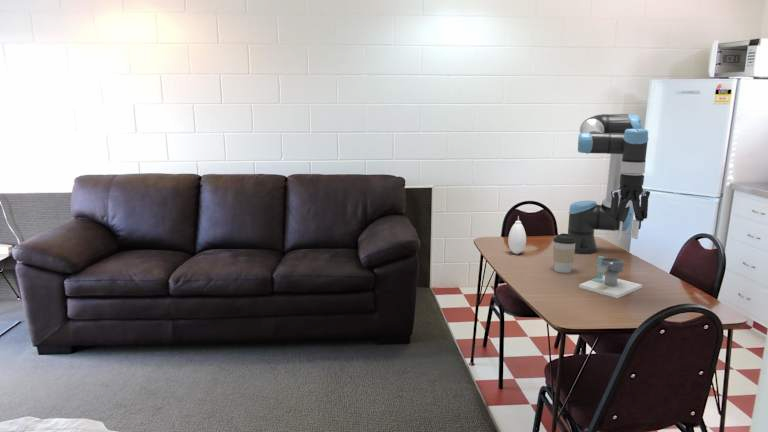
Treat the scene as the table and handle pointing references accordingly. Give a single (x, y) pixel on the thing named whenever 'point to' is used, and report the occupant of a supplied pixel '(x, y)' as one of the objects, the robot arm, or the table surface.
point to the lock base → (609, 283)
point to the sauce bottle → (517, 238)
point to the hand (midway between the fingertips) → (626, 238)
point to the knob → (611, 265)
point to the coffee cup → (563, 252)
